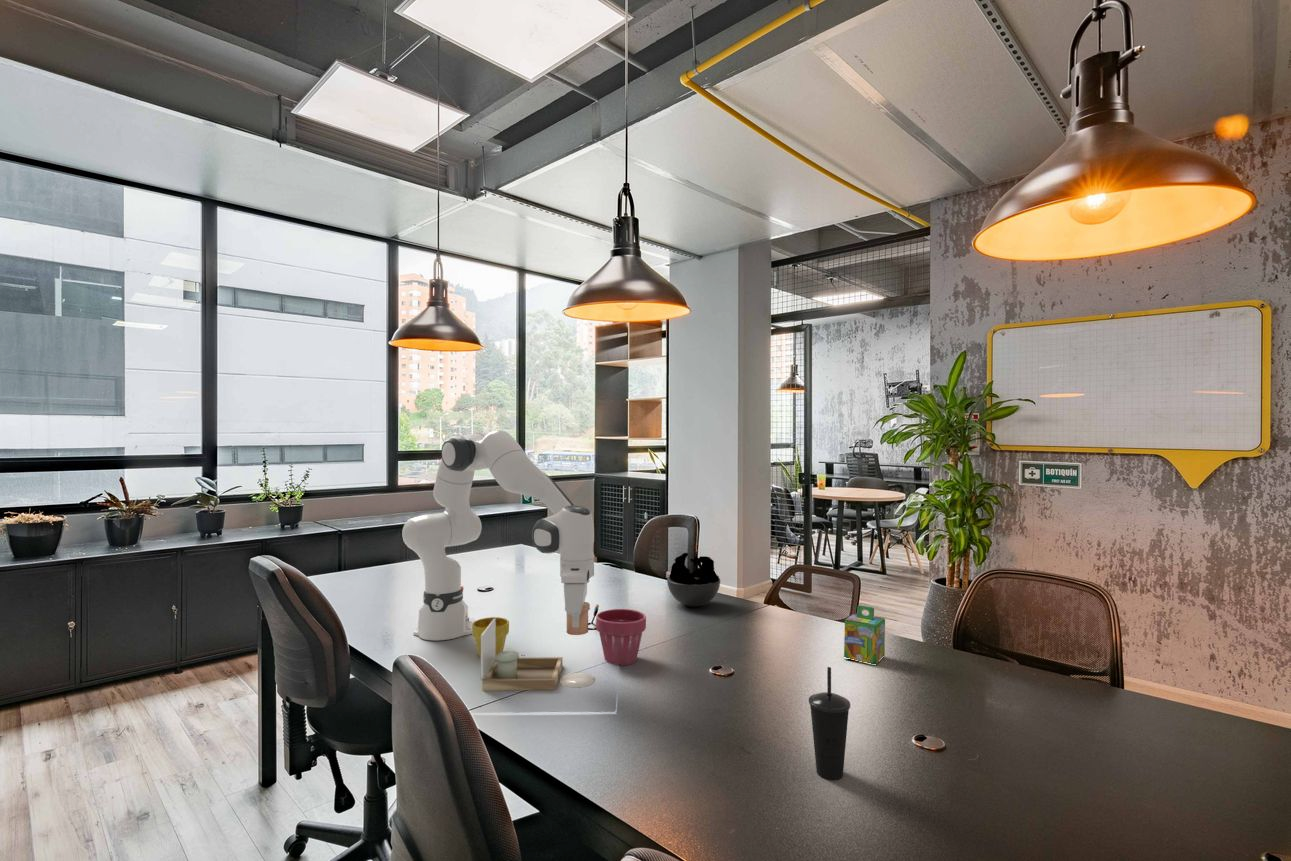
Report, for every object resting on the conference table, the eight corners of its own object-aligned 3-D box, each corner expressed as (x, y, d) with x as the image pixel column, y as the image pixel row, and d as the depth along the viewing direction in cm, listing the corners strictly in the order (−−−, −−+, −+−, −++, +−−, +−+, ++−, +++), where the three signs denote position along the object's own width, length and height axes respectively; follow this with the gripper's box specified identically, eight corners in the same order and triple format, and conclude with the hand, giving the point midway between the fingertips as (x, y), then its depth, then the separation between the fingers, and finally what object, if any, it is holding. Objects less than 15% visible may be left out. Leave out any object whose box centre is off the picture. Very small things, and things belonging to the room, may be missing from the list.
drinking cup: (803, 763, 121) (802, 660, 122) (841, 761, 122) (840, 659, 122) (817, 785, 114) (816, 676, 114) (857, 783, 114) (857, 674, 115)
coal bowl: (723, 613, 224) (723, 561, 224) (667, 613, 224) (667, 560, 224) (717, 598, 244) (717, 550, 244) (666, 598, 244) (666, 550, 244)
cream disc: (561, 675, 166) (561, 672, 166) (595, 675, 166) (595, 672, 166) (557, 689, 157) (557, 686, 157) (593, 689, 157) (593, 686, 157)
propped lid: (493, 660, 170) (493, 618, 170) (496, 660, 170) (496, 618, 170) (480, 680, 156) (480, 635, 156) (484, 680, 156) (484, 635, 156)
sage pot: (498, 673, 166) (498, 650, 166) (520, 673, 166) (520, 650, 166) (493, 682, 160) (493, 658, 160) (516, 682, 160) (516, 658, 160)
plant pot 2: (653, 655, 181) (653, 611, 181) (632, 672, 168) (632, 625, 168) (610, 648, 187) (610, 606, 187) (586, 664, 174) (586, 618, 174)
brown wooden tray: (496, 668, 171) (496, 657, 171) (562, 668, 171) (562, 657, 171) (482, 692, 155) (482, 680, 155) (554, 692, 155) (554, 680, 155)
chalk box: (843, 659, 177) (843, 608, 177) (853, 650, 185) (853, 601, 185) (876, 667, 172) (876, 613, 172) (885, 657, 179) (885, 606, 179)
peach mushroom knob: (566, 627, 164) (566, 601, 164) (590, 627, 164) (590, 601, 164) (563, 635, 158) (563, 608, 158) (588, 635, 158) (588, 607, 158)
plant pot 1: (499, 663, 175) (499, 628, 175) (465, 660, 177) (465, 626, 177) (514, 651, 185) (514, 618, 185) (482, 648, 187) (482, 616, 187)
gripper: (569, 561, 172) (569, 611, 172) (560, 578, 151) (560, 634, 151) (592, 560, 172) (592, 611, 172) (586, 577, 151) (586, 634, 151)
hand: (577, 622), depth 161 cm, fingers closed on peach mushroom knob, 6 cm apart
